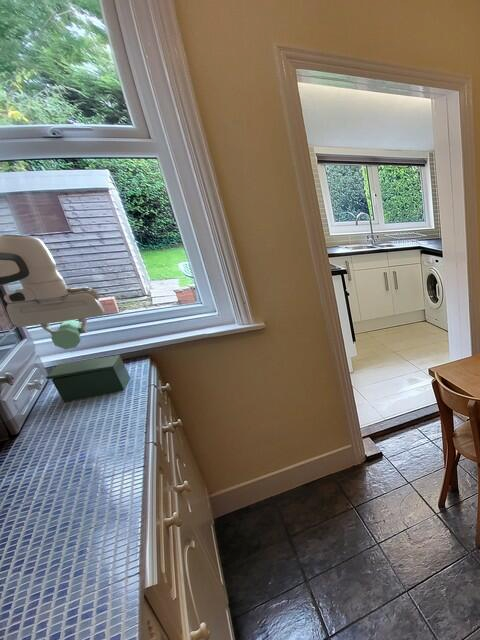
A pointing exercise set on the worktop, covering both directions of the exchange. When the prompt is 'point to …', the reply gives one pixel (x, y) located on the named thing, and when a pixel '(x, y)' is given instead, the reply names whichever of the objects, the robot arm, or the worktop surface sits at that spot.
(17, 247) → the robot arm
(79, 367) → the case lid
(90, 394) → the case
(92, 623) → the worktop surface
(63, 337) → the light green cylinder
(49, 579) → the worktop surface
